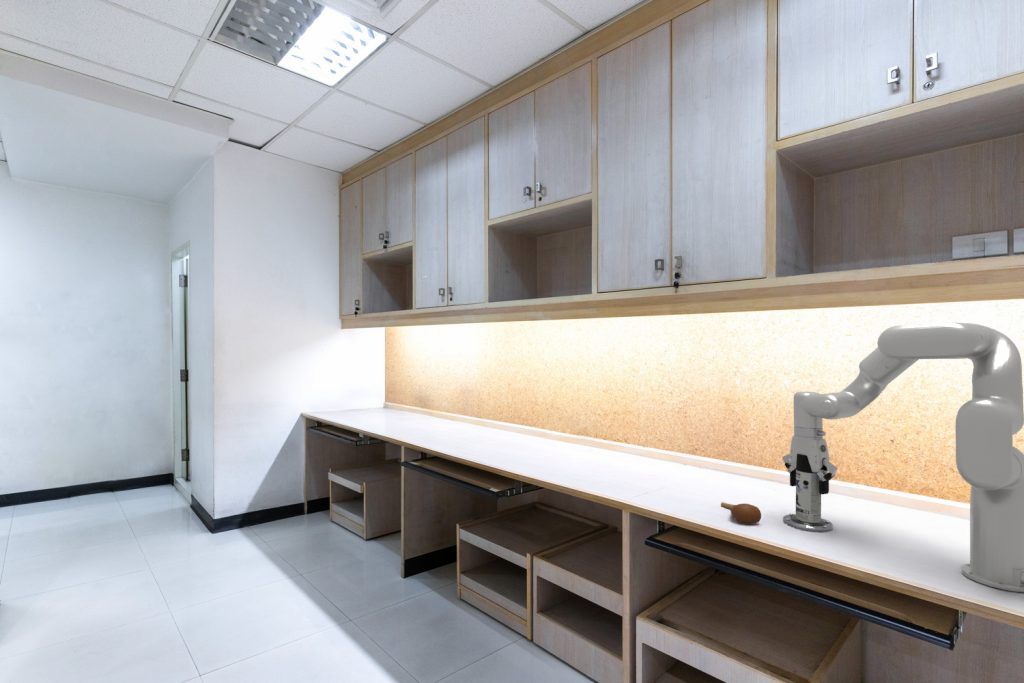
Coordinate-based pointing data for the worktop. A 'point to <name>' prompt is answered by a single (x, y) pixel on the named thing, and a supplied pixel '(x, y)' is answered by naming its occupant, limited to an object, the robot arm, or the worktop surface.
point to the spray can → (807, 492)
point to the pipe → (744, 512)
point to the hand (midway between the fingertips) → (808, 489)
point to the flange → (820, 527)
